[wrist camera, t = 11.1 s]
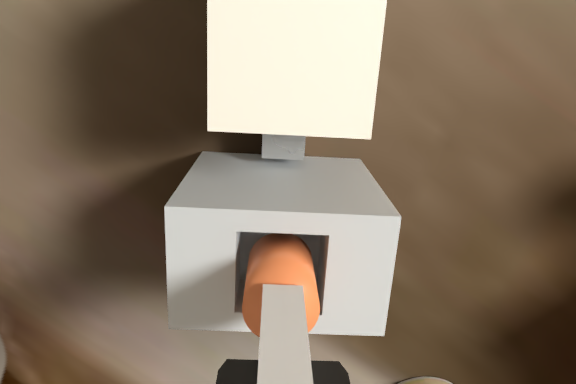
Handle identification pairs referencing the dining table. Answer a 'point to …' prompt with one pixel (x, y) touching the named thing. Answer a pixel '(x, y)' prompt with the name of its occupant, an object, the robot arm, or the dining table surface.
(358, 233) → the grey block with recess
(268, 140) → the rail
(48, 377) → the dining table surface
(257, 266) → the button
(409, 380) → the coffee cup
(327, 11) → the block
